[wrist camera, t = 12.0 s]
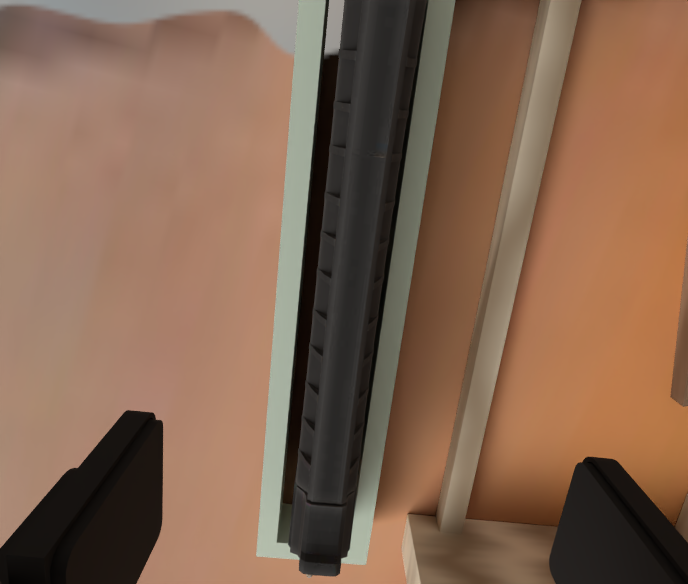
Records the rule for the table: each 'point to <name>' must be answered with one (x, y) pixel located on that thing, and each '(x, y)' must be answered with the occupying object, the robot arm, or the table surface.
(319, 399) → the magazine
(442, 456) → the table surface
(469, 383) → the rack
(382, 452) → the display holder
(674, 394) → the offcut stack
